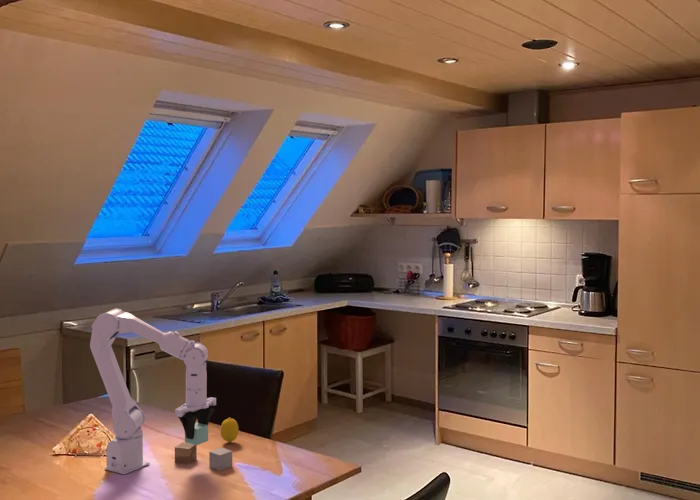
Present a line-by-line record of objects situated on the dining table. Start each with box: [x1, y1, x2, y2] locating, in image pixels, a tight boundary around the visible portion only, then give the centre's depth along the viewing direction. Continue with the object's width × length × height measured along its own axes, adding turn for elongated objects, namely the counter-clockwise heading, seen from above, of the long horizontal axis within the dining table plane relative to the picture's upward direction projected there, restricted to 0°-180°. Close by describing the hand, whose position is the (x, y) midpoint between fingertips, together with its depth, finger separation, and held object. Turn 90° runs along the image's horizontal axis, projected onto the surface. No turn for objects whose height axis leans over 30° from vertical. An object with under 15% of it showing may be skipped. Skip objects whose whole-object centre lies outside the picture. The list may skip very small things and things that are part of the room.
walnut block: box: [174, 441, 198, 465], centre depth 199 cm, size 4×4×4 cm
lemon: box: [220, 417, 240, 444], centre depth 215 cm, size 6×6×8 cm
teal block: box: [184, 421, 209, 446], centre depth 194 cm, size 4×4×4 cm
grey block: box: [208, 447, 233, 472], centre depth 195 cm, size 4×4×4 cm
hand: (196, 435), depth 194 cm, fingers closed on teal block, 4 cm apart
